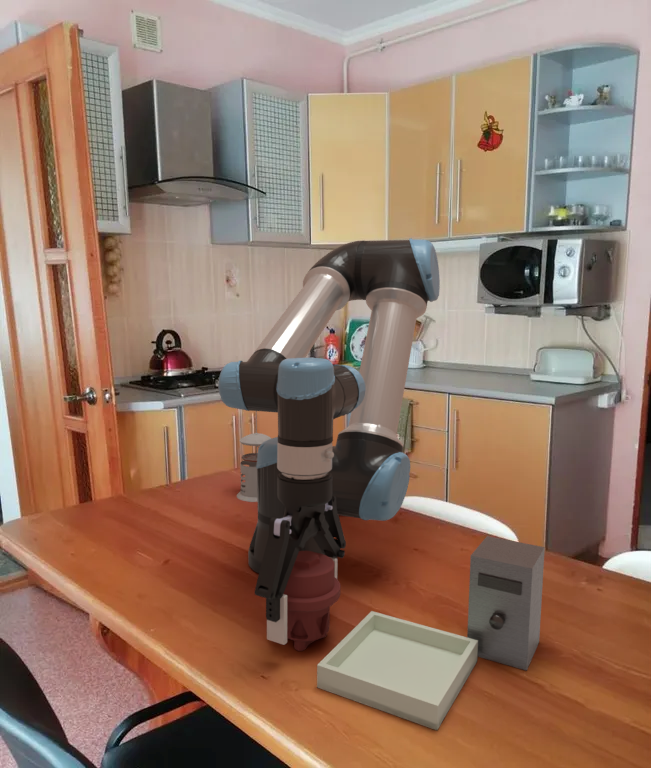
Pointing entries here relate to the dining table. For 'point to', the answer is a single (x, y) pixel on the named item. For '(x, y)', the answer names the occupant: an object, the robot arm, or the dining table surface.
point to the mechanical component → (310, 598)
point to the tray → (399, 668)
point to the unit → (506, 600)
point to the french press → (250, 467)
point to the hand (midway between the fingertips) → (304, 618)
